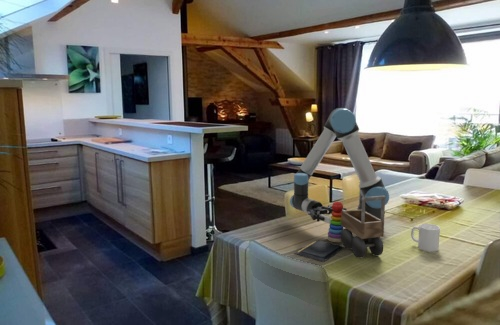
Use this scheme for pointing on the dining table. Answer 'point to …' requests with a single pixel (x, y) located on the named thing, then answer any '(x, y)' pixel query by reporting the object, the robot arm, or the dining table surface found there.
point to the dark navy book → (319, 250)
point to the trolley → (363, 229)
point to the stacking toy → (335, 223)
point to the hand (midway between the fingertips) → (341, 218)
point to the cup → (427, 237)
